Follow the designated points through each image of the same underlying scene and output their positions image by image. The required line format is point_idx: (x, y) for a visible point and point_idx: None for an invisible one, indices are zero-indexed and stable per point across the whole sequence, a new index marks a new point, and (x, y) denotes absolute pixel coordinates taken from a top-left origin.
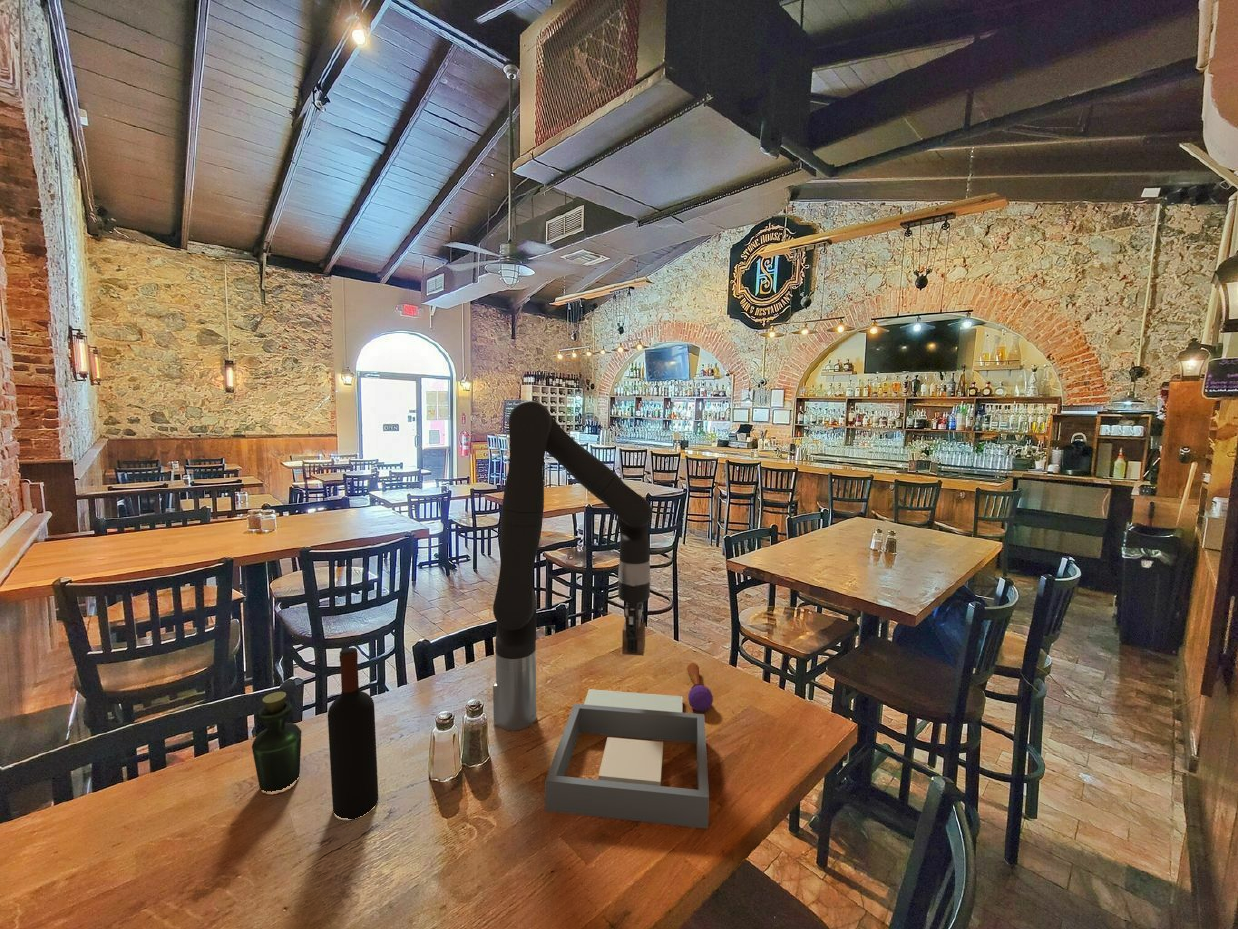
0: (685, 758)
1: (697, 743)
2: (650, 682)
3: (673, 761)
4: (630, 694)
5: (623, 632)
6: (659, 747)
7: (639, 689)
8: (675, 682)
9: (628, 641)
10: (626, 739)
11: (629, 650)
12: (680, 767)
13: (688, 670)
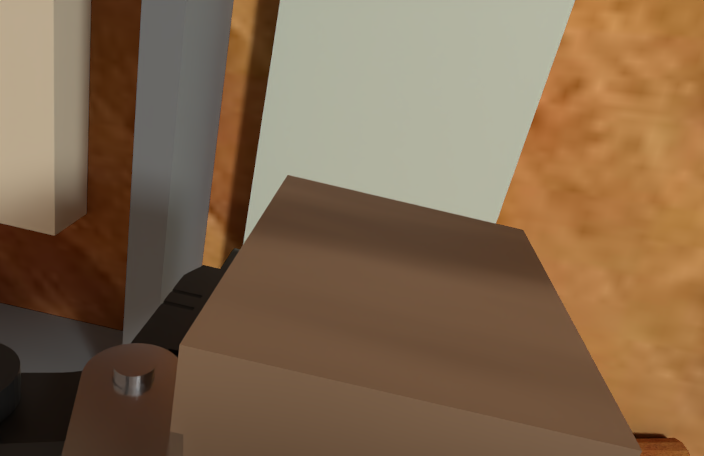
0: (80, 286)
1: (20, 360)
2: (642, 261)
3: (58, 243)
4: (500, 145)
5: (200, 330)
6: (16, 214)
7: (589, 197)
8: (609, 367)
9: (190, 322)
10: (47, 75)
11: (194, 274)
12: (30, 259)
13: (656, 450)
